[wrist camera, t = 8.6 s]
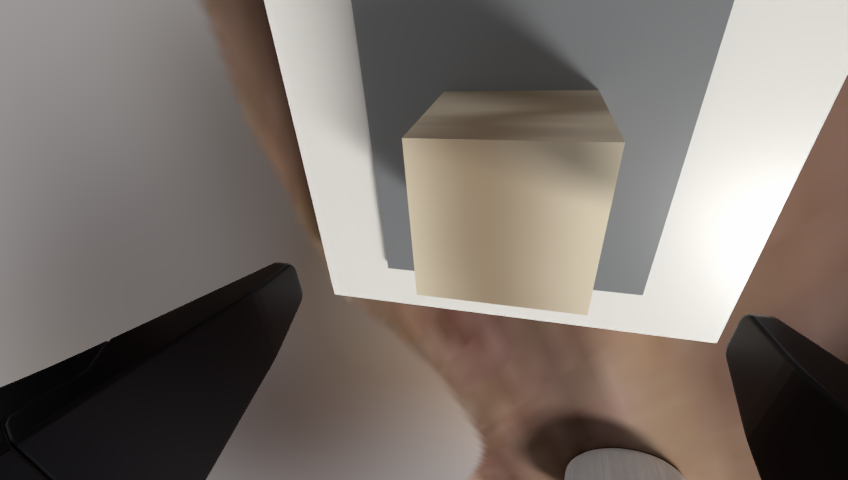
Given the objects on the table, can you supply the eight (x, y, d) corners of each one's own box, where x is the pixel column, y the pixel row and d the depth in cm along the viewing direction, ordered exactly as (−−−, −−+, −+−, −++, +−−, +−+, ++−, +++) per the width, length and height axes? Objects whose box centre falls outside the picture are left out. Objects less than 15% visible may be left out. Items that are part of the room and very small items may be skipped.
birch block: (598, 89, 12) (624, 142, 8) (575, 225, 15) (587, 315, 11) (444, 91, 14) (401, 138, 10) (448, 216, 16) (416, 294, 12)
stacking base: (882, -154, 10) (993, -198, 8) (696, 300, 19) (720, 350, 16) (288, -78, 15) (234, -90, 12) (355, 264, 23) (331, 299, 21)
